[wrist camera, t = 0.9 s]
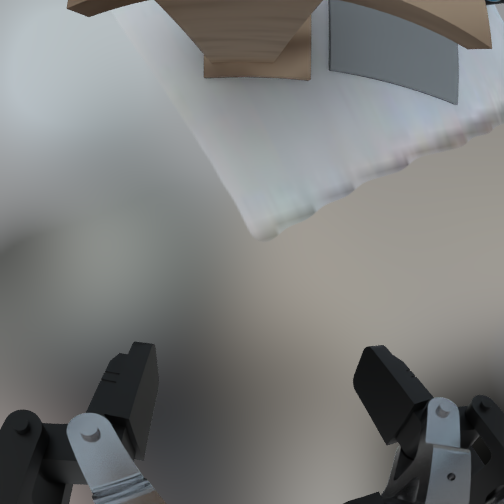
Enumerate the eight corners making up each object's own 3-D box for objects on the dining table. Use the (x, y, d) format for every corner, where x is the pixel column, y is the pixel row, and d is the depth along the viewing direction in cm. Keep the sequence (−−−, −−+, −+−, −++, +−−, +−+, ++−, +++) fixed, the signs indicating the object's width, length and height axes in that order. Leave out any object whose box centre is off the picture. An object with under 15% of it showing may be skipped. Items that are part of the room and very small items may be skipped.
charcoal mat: (328, -9, 24) (329, -11, 23) (454, 35, 24) (457, 35, 24) (329, 70, 31) (330, 69, 30) (454, 104, 32) (457, 104, 31)
